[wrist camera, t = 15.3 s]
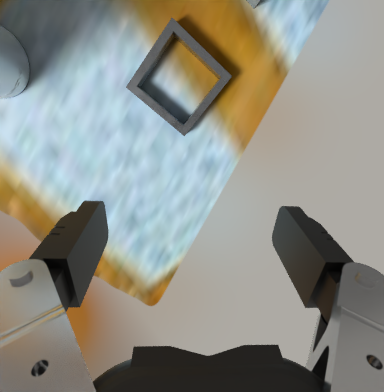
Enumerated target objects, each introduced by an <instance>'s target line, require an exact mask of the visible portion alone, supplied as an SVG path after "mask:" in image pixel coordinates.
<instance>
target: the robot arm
mask: <svg viewBox="0 0 384 392" xmlns="http://www.w3.org/2000/svg"><path fill="white" fill-rule="evenodd" d="M29 73H30V70H29V62H28V58H27V55H26V53H25V51H24V49H23V47H22V45H21V44H20V42H19V41H18V40H17V39H16V38H15V36H14V35H13V34H12V33H10V32H9V31H8V30H7V29H5V28H4V27H2V26H0V98H11V97H14V96H16V95H18V94H20V93H21V92H22V91H23V90H24V88H25V87H26V85H27V83H28V80H29ZM107 240H108V225H107V218H106V211H105V205H104V202H103V201H84V202H83V203H82V204H81V206H80V207H79V208H78V210H77V211H76V212H70V213H68V214H67V215H65V216H64V217H62V218H61V219H60V220H59V221H58V222H57V224H56V225H55V226H54V228H53V229H52V230H51V231H50V233H49V235H47V236H46V238H45V239H44V240H43V241H42V243H41V244H40V245H39V246H38V248H37V249H36V250H35V252H34V253H33V254H32V255H31V257H30V258H29V259H28V260H23V261H20V262H17V263H14V264H12V265H10V266H8V267H7V268H5V269H4V270H3V271H1V272H0V392H384V275H383V274H381V273H380V272H379V271H377V270H375V269H373V268H372V267H369V266H367V265H364V264H361V263H355V262H354V261H353V260H352V259H351V258H350V257H349V256H348V255H347V253H346V252H345V251H344V250H343V249H342V248H341V247H340V246H339V244H338V243H337V242H336V241H335V240H333V238H332V237H331V235H329V234H328V232H327V231H326V230H325V229H324V228H323V227H322V225H321V224H319V223H318V222H316V221H315V220H313V219H312V218H309V217H308V216H307V215H306V214H305V213H304V211H303V210H302V209H301V208H300V207H294V206H282V207H281V208H280V209H279V212H278V216H277V219H276V223H275V226H274V230H273V235H272V241H273V246H274V248H275V250H276V252H277V254H278V255H279V257H280V259H281V261H282V263H283V265H284V267H285V269H286V271H287V273H288V275H289V277H290V279H291V281H292V282H293V284H294V286H295V288H296V290H297V292H298V294H299V296H300V298H301V300H302V302H303V304H304V306H305V308H319V310H320V314H319V316H318V319H317V323H316V327H315V331H314V336H313V340H312V344H311V349H310V353H309V357H308V361H307V363H306V366H305V367H303V366H301V365H299V364H298V363H296V362H293V361H291V360H288V359H286V358H282V355H281V352H280V349H279V346H278V345H243V346H240V347H237V348H233V349H230V350H227V351H224V352H221V353H218V354H215V355H211V356H205V355H201V354H197V353H194V352H190V351H186V350H182V349H179V348H175V347H171V346H153V347H151V346H148V347H147V346H146V347H134V348H133V354H132V359H130V360H127V361H124V362H122V363H120V364H118V365H116V366H114V367H112V368H111V369H109V370H107V371H106V372H104V373H103V374H102V375H100V376H99V377H98V378H96V379H95V380H94V381H93V382H92V379H91V377H90V374H89V372H88V369H87V366H86V364H85V361H84V359H83V356H82V353H81V351H80V348H79V346H78V343H77V341H76V338H75V335H74V333H73V330H72V328H71V325H70V323H69V320H68V317H67V314H66V311H67V309H68V307H80V306H81V303H82V301H83V299H84V296H85V294H86V292H87V289H88V287H89V284H90V282H91V279H92V277H93V275H94V272H95V270H96V268H97V265H98V263H99V261H100V258H101V256H102V253H103V251H104V249H105V246H106V244H107Z"/></svg>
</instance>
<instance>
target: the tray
mask: <svg viewBox="0 0 384 392" xmlns="http://www.w3.org/2000/svg"><path fill="white" fill-rule="evenodd" d="M247 1H248V2H249V4H250V5H251V6H252V7H253V8H255V7H256V5H257V4H258V3H259V1H260V0H247Z"/></svg>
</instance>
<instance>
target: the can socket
mask: <svg viewBox="0 0 384 392" xmlns="http://www.w3.org/2000/svg"><path fill="white" fill-rule="evenodd" d="M174 37H175V38H177V39H178V40H179V41H180V42H181V43H182V44H183V45H184V46H185V47H186V48H187V49H188V50H189V51H190V52H191V53H192V54H193V55H194V56H195V57H196V58H197V59H198V60H199V61H201V62H202V63H203V64H204V65H205V66H206V67H207V68H208V69H209V70H210V71H211V72H212V73H213V74H214V75H215V76H216V77H217V78H218V79H219V80H218V81H217V82H216V84H215V85H214V86H213V88H212V89H211V90H210V91H209V93H208V94H207V95H206V97H205V98H204V99H203V100H202V102H201V103H200V104H199V106H198V107H197V108H196V109H195V111H194V112H193V113H192V114H191V116H190V117H189V118H188V120H187V121H186V122H185V123H184V124H183V123H181V122H180V121H179V120H178V119H177V118H175V117H174V116H173V115H172V114H171V113H170V112H168V111H167V110H166V109H165V108H164V107H163V106H161V105H160V104H159V103H158V102H157V101H155V100H154V99H153V98H152V97H151V96H150V95H148V94H147V93H146V92H145V91H144V90H143V89H141V88H140V87H141V85H142V84H143V82H144V81H145V79H146V78H147V77H148V75H149V74H150V72H151V71H152V69H153V68H154V66H155V65H156V63H157V62H158V60H159V59H160V57H161V56H162V55H163V53H164V52H165V50H166V49H167V47H168V46H169V44H170V43H171V41H172V40H173V38H174ZM231 77H232V76H231V75H230V74H229V73H228V72H227V71H226V70H225V69H224V68H223V67H222V66H221V65H220V64H219V63H218V62H217V61H216V60H215V59H214V58H213V57H212V56H211V55H210V54H209V53H208V52H207V51H206V50H205V49H204V48H203V47H202V46H201V45H200V44H199V43H198V42H197V41H196V40H195V39H194V38H192V37H191V36H190V35H189V34H188V33H187V32H186V31H185V30H184V29H183V28H182V27H181V26H180V25H179V24H178V23H177V22H176V21H175V20H174V19H173V18H171V20H170V21H169V23H168V24H167V26H166V28H165V29H164V31H163V32H162V34H161V35H160V37H159V38H158V40H157V41H156V43H155V44H154V46H153V47H152V49H151V50H150V52H149V53H148V55H147V56H146V58H145V59H144V61H143V62H142V64H141V65H140V67H139V68H138V70H137V71H136V73H135V74H134V76H133V77H132V79H131V80H130V82H129V84H128V85H127V87H126V88H128V89H129V90H130V91H131V92H132V93H133V94H135V95H136V96H137V97H138V98H139V99H141V100H142V101H143V102H144V103H145V104H147V105H148V106H149V107H150V108H151V109H153V110H154V111H155V112H156V113H157V114H159V115H160V116H161V117H162V118H163V119H165V120H166V121H167V122H168V123H169V124H171V125H172V126H173V127H174V128H175V129H176V130H178V131H179V132H180V133H181V134H182V135H184V136H185V135H186V134H187V132H188V131H189V130H190V129H191V127H192V126H193V125H194V123H195V122H196V121H197V120H198V118H199V117H200V116H201V115H202V113H203V112H204V111H205V110H206V108H207V107H208V106H209V105H210V103H211V102H212V101H213V100H214V98H215V97H216V96H217V95H218V93H219V92H220V91H221V90H222V88H223V87H224V86H225V84H226V83H227V82H228V81H229V79H230V78H231Z"/></svg>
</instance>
